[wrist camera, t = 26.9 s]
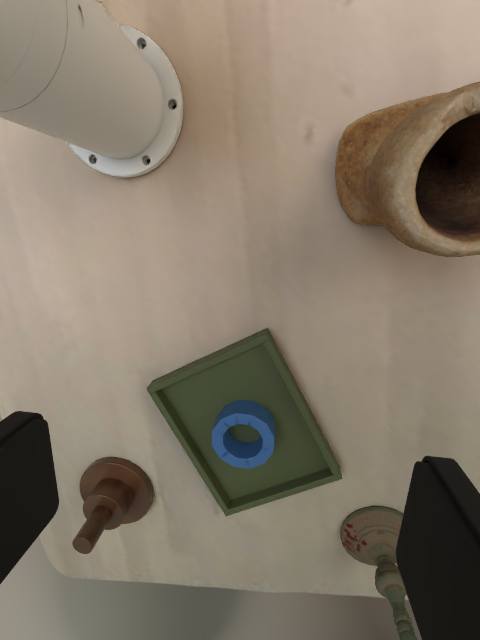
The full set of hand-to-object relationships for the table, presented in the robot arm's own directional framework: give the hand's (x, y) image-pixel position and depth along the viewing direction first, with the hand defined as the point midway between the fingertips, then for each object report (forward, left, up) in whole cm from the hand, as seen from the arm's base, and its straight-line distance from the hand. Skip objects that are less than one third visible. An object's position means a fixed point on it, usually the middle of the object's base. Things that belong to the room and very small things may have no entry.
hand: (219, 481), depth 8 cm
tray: (+14, -10, -28) cm, 33 cm away
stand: (+16, -31, -28) cm, 45 cm away
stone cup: (-3, +17, -28) cm, 33 cm away
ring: (+14, -10, -28) cm, 33 cm away
